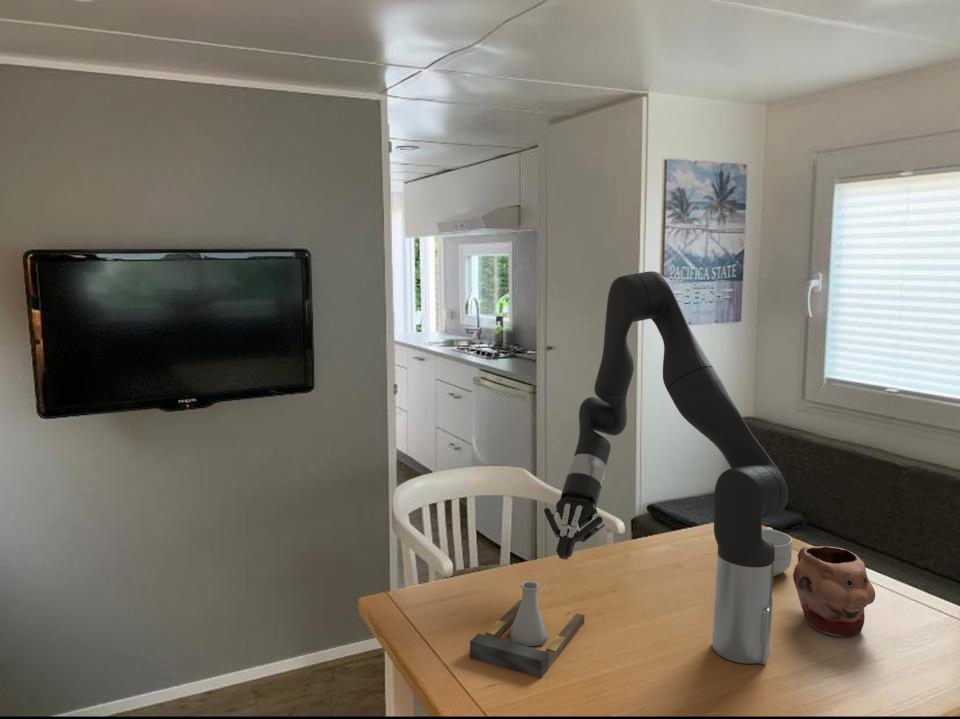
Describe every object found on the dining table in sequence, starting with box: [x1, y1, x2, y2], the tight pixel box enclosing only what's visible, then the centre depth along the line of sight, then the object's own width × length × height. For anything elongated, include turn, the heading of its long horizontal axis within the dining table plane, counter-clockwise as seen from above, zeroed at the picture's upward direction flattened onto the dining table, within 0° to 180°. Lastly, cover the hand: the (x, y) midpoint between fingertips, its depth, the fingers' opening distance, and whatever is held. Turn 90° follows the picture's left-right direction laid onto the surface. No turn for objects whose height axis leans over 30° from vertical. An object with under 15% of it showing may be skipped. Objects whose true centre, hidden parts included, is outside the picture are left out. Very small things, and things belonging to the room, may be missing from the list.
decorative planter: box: [792, 545, 876, 637], centre depth 140 cm, size 20×12×14 cm, turn 14°
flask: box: [508, 580, 550, 647], centre depth 133 cm, size 7×7×10 cm
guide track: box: [469, 599, 585, 679], centre depth 132 cm, size 13×21×3 cm, turn 153°
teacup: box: [762, 526, 793, 577], centre depth 164 cm, size 14×11×8 cm
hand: (562, 557), depth 145 cm, fingers closed
